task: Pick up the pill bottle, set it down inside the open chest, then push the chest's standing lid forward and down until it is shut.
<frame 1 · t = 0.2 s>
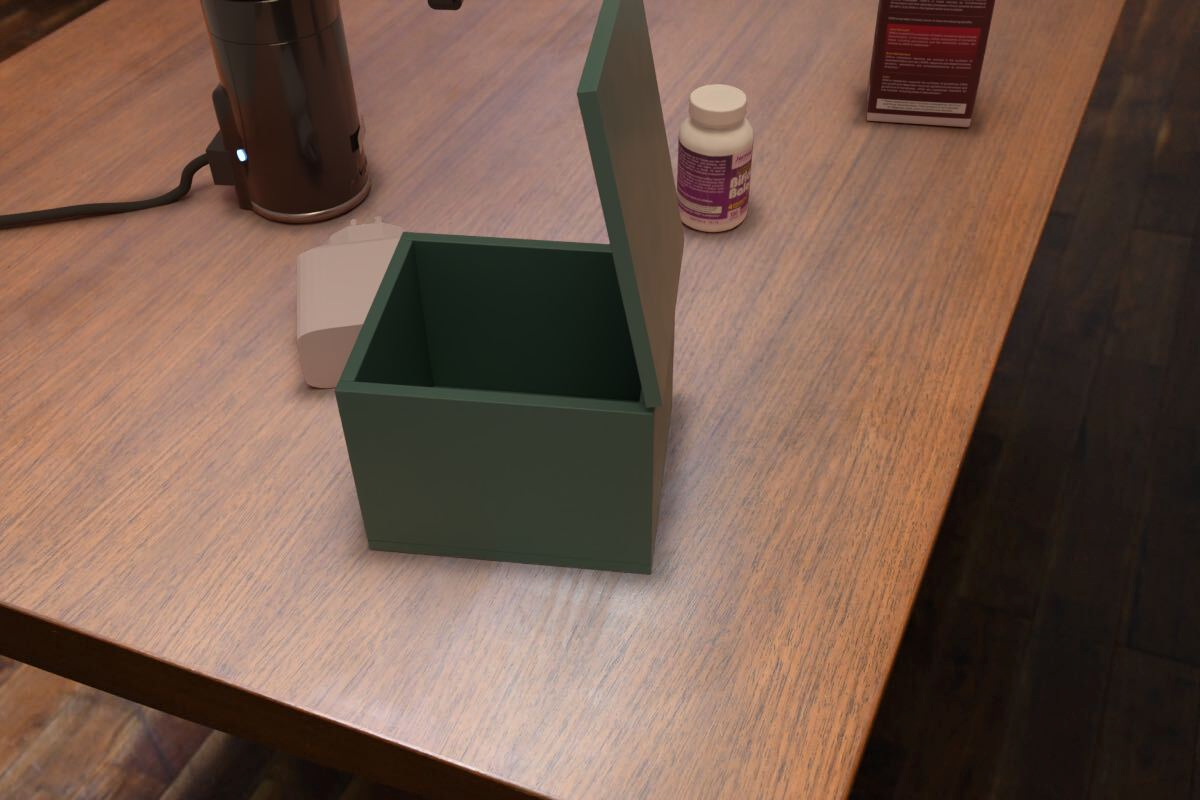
lid: (640, 179, 56), point 20 cm above the table, hinge at 80.0°
pill bottle: (711, 216, 90), on the table
supplement box: (915, 113, 101), on the table
chest: (529, 472, 71), on the table
charger: (376, 312, 82), on the table
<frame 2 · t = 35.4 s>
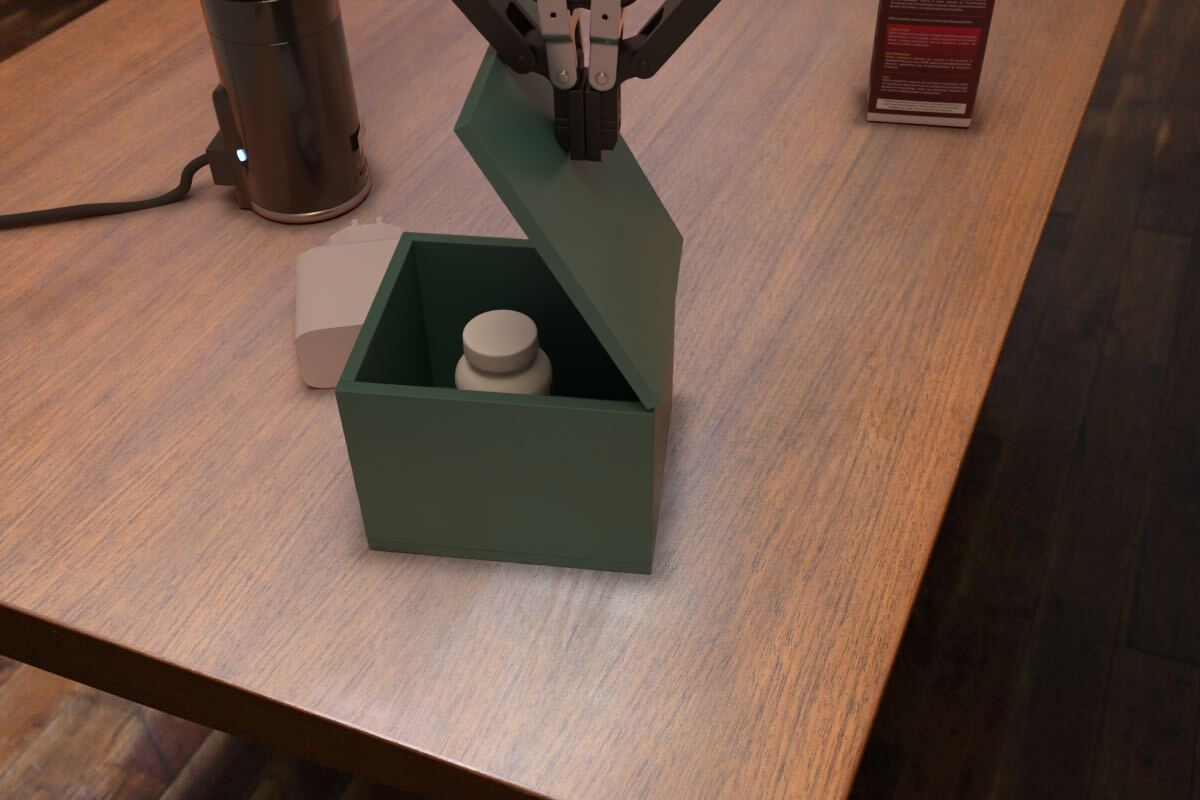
hand: (588, 152, 56), 22 cm above the table, tool pointing down, fingers closed
lid: (586, 193, 57), point 19 cm above the table, hinge at 61.1°, touching gripper
pill bottle: (512, 463, 71), point 1 cm above the table, touching chest
everything else where it was.
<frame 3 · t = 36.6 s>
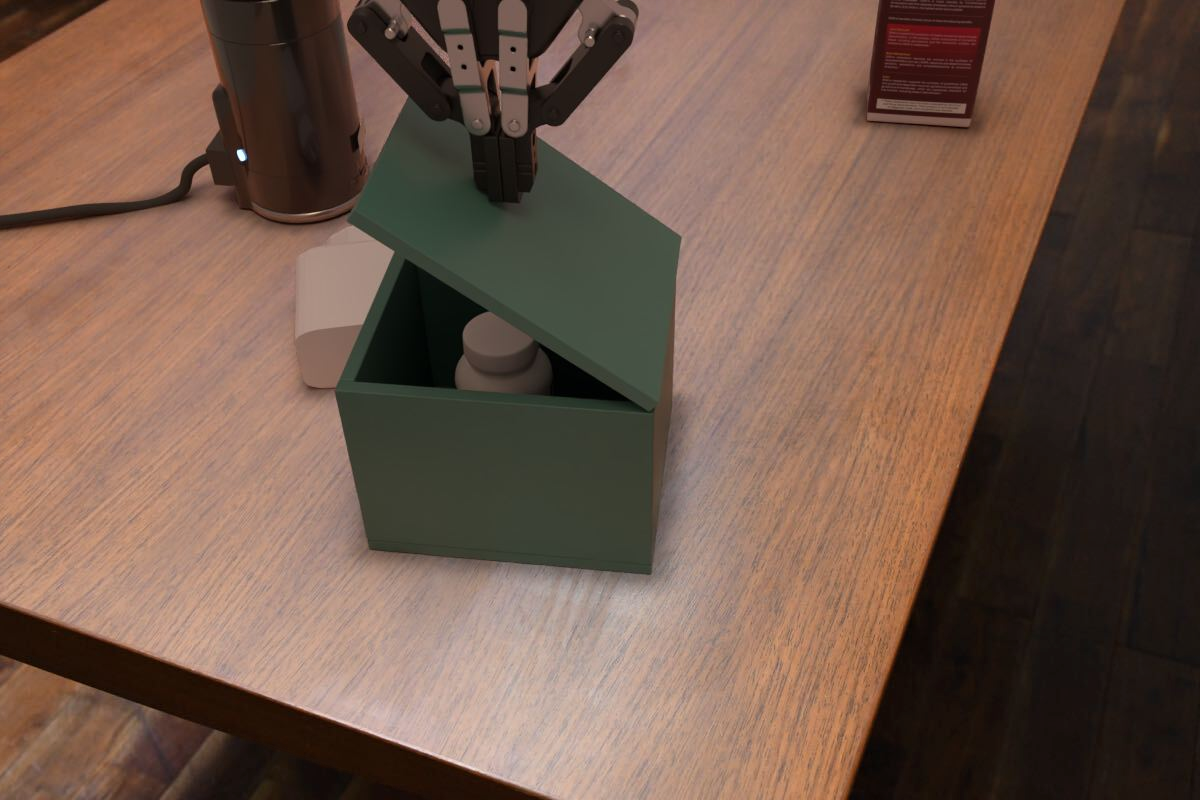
hand: (507, 193, 58), 19 cm above the table, tool pointing down, fingers closed
lid: (534, 229, 59), point 17 cm above the table, hinge at 36.7°, touching gripper
everything else where it was.
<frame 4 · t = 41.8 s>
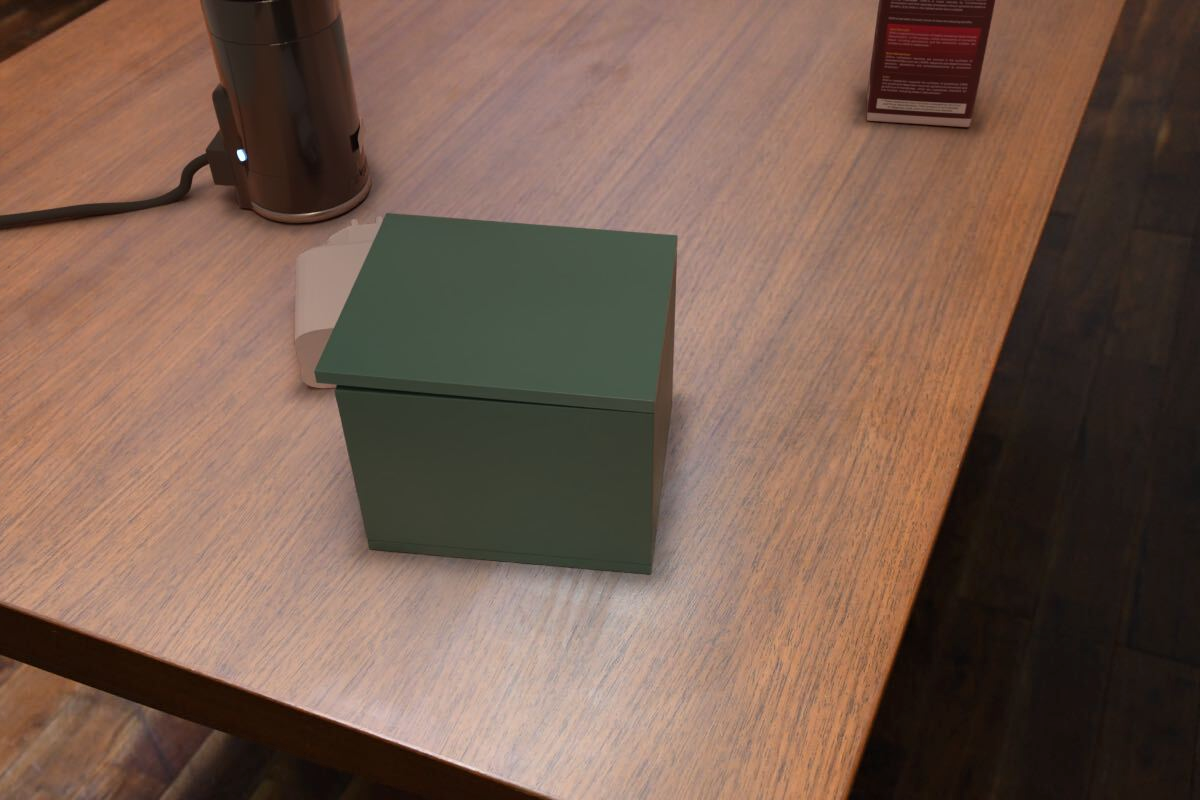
lid: (508, 304, 62), point 12 cm above the table, hinge at 1.2°
everything else where it was.
at the end: pill bottle inside the target area in the chest (1.0 cm from its centre), point 0.6 cm above the chest's base; lid at +1° (first picture: +80°) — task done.
